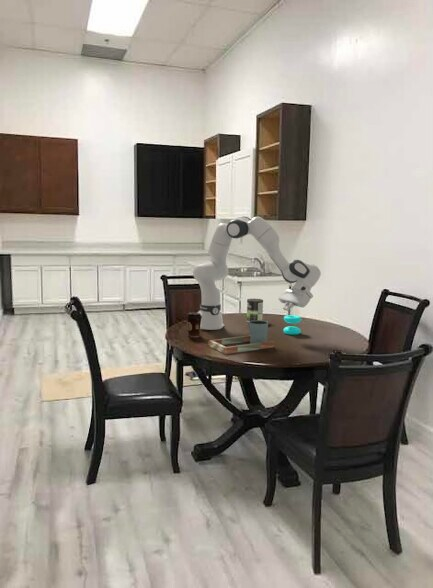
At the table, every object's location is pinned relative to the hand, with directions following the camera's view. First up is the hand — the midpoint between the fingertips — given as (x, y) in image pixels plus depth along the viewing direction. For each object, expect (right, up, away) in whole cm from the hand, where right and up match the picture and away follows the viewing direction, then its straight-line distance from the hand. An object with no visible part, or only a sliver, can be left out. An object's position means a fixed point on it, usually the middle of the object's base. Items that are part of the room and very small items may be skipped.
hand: (285, 309), depth 262 cm
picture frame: (-25, -19, -12) cm, 33 cm away
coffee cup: (-50, -15, +10) cm, 53 cm away
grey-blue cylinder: (-15, -18, -6) cm, 24 cm away
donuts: (+7, -14, +20) cm, 25 cm away
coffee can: (-13, -9, +51) cm, 53 cm away
